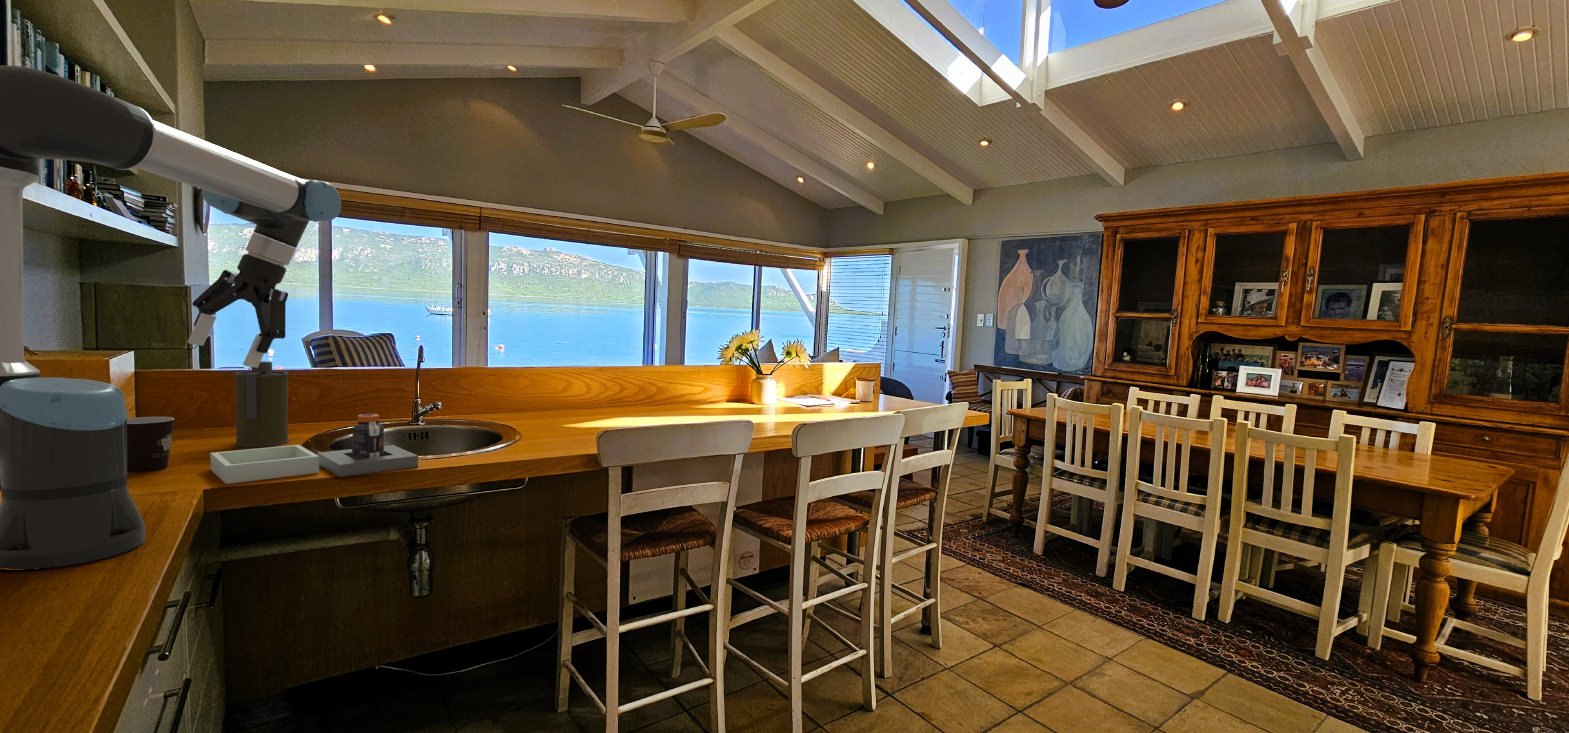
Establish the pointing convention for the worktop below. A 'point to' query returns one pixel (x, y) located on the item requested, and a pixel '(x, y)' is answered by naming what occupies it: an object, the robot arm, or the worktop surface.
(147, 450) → the coffee mug
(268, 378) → the canister
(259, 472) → the parts tray
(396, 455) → the socket block
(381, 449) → the pill bottle
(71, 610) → the worktop surface
